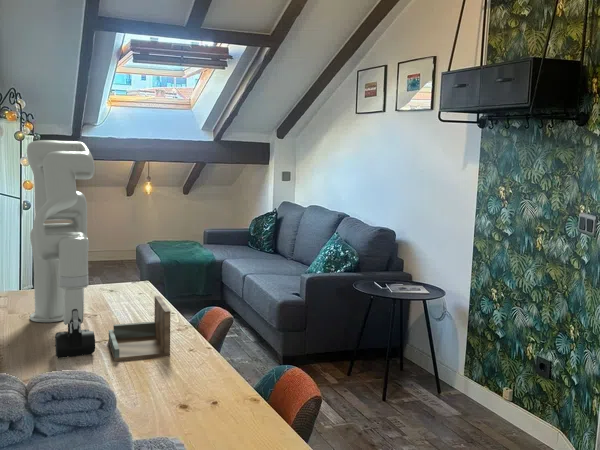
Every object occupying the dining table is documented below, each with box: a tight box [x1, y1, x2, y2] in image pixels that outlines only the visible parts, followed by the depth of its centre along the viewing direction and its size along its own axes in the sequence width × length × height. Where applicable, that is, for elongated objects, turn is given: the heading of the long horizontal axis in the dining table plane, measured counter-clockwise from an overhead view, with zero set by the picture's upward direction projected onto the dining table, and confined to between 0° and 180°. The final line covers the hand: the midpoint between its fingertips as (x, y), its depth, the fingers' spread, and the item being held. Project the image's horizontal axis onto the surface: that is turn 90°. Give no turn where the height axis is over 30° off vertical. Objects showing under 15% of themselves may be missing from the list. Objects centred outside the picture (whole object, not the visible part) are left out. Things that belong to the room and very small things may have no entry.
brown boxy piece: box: [108, 295, 171, 362], centre depth 177 cm, size 18×15×13 cm
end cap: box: [54, 328, 96, 359], centre depth 170 cm, size 10×7×7 cm
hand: (74, 341), depth 170 cm, fingers open, 9 cm apart
